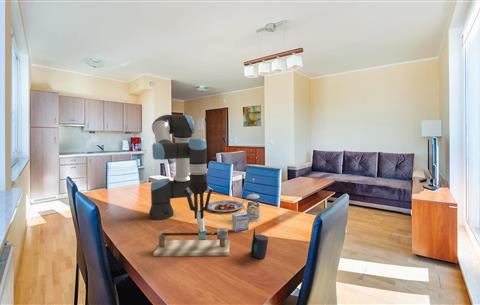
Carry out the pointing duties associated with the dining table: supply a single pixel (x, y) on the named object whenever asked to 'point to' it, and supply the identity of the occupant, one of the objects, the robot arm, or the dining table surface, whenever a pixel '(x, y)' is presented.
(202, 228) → the white slab teal box
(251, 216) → the french press
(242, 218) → the medicine box
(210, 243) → the cord rig
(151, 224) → the dining table surface
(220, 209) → the ceramic plate
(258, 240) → the speaker
